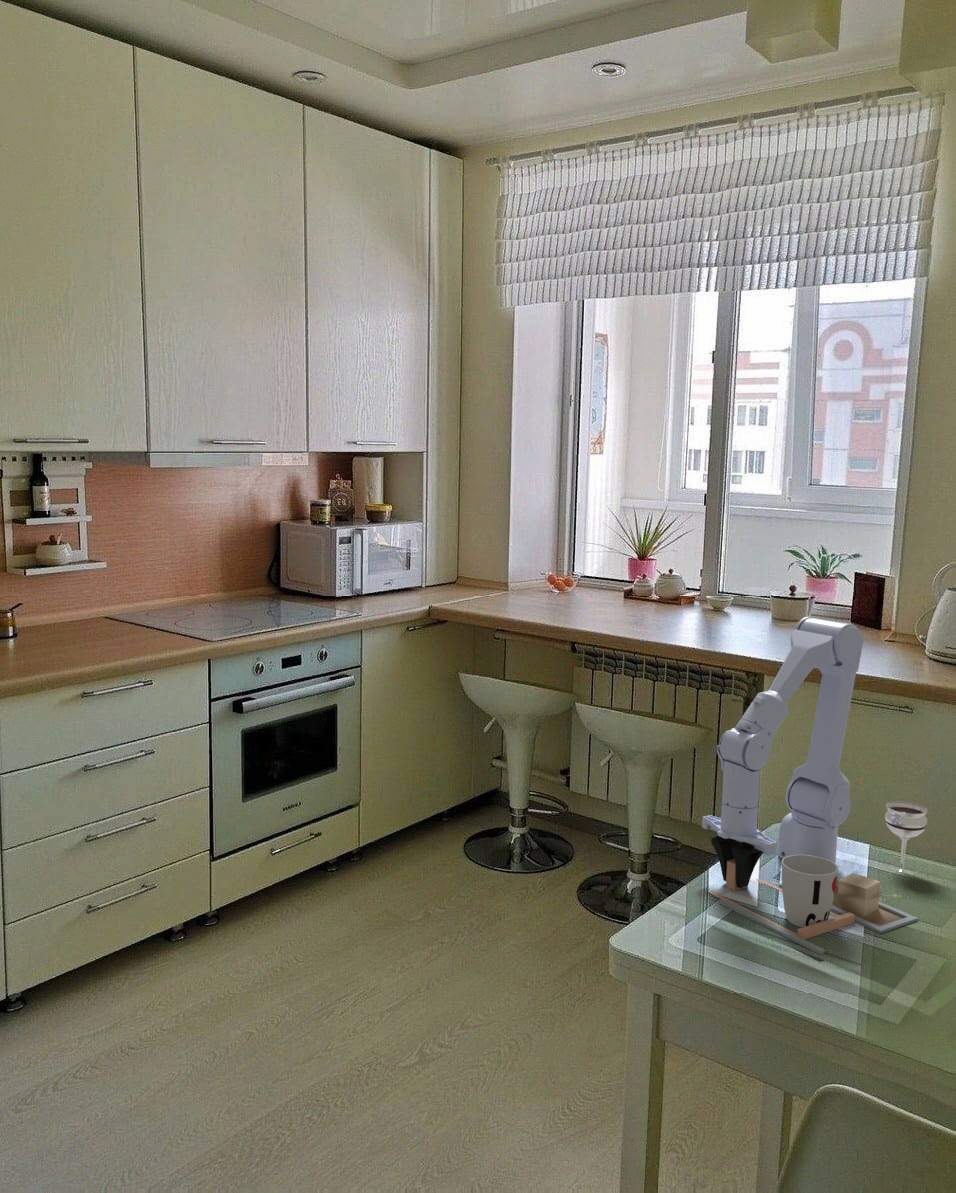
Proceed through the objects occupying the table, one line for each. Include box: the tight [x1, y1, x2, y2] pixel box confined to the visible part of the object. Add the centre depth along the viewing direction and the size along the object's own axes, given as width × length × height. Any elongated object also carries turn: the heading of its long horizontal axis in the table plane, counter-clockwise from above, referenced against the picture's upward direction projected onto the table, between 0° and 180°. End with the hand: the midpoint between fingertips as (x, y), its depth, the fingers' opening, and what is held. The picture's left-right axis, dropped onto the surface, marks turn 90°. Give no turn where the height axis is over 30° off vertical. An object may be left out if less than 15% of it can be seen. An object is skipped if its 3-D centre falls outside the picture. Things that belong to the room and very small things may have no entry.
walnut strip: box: [832, 888, 903, 927], centre depth 164 cm, size 17×6×5 cm, turn 32°
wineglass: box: [884, 801, 928, 876], centre depth 178 cm, size 7×7×12 cm
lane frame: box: [719, 882, 919, 963], centre depth 160 cm, size 20×22×2 cm
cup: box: [781, 855, 839, 928], centre depth 157 cm, size 8×8×10 cm
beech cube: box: [837, 872, 881, 917], centre depth 162 cm, size 4×4×4 cm
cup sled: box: [708, 859, 855, 940], centre depth 162 cm, size 19×12×6 cm, turn 32°
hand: (735, 882), depth 169 cm, fingers open, 2 cm apart
